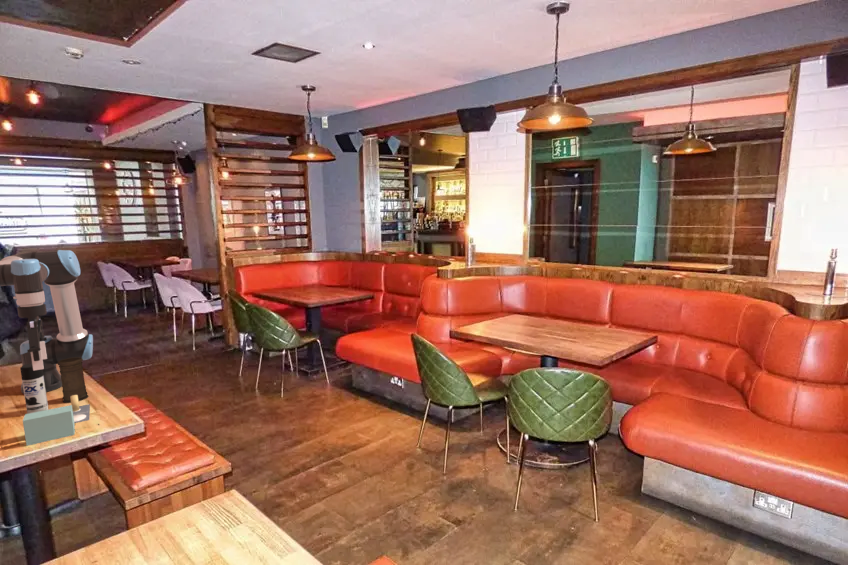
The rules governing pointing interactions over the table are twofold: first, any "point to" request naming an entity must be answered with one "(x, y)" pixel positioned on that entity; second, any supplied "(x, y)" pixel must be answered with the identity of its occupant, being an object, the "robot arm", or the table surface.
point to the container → (72, 379)
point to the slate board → (79, 410)
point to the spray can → (34, 389)
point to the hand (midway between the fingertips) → (40, 364)
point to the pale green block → (48, 425)
